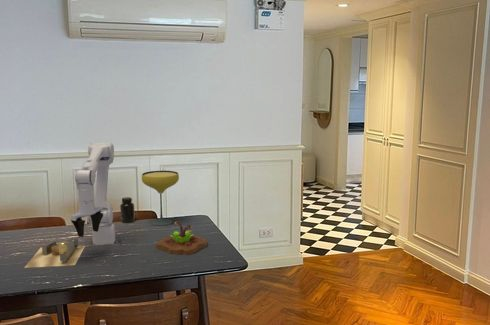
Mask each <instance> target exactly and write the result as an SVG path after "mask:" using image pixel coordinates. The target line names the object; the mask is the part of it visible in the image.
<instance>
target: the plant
mask: <svg viewBox="0 0 490 325" xmlns="http://www.w3.org/2000/svg"><path fill="white" fill-rule="evenodd" d="M174 225H175V226H178V225H179V228H180V229H179V231H176V230H174V231H173V232H172V235H171V234H170V235H169V236H166V237H164V238H161V240H159V241H158V242H157V243H155V248H156V249H157V250H159V251H162V252H166V253H169V254H171V255H177V256H178V255H185V256H188V255H193V254H196V253H197V252H198V251H200V250H202V249H204V248H207V246H208V240H207V238H202V237H201V236H198V235H194V234H191V233H192V230H191V229H192V228H193V226H192V225H191V224H187V225H186V226H185V227H184V228H183V225H182V223H181V221H175V222H174Z"/></svg>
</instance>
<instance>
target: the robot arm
mask: <svg viewBox="0 0 490 325" xmlns="http://www.w3.org/2000/svg"><path fill="white" fill-rule="evenodd" d="M87 153H88V156H89V157H88V158H87V159H85V160H84V162H83V164H82V166H81V168H80V169H78V170H77V171H76V172H75V175H74V181H75V182H74V183H75V185H76V190H77V191H78V192H77V193H78V194H77V195H78V208H79V209H78V211H77V212H75V213H74V214H73V213H72V214H71V215H70V223H71V224H73V227H74V228H75V230H76V232H77V236H78V237H79V238H83V237H84V235H85V223H86V221H87V223H88V224H89V225H90V227H91V238H92V244H93V245H94V246H103V245H104V246H105V245H114V244H115V242H116V228H115V224H114V223H112V222H113V219H114V212H113V206H112V205H111V204H110V203H109V202H107V196H108V195H107V194H108V185H109V184H108V182H109V168H110V165H111V164H113V163H114V158H115V149H114V144H113V143H112V142H108V143H106V142H105V143H104V142H103V143H99V142H97V143H96V142H90V143H89V144H88V147H87ZM95 182H96V183H95ZM94 184H95V187H94ZM94 188H95V190H94ZM83 218H86V220H84V219H83Z"/></svg>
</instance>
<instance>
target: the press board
mask: <svg viewBox="0 0 490 325" xmlns="http://www.w3.org/2000/svg"><path fill="white" fill-rule="evenodd" d="M85 248H86V245H78V247H76V248H75V249H74V250H73V252H72V253H71V255H70V256H69V257H68V259H67V260H66V261H60V255H57V256H54V255H52V253H51V254H49V255H47V256H46V255H43V254H42V247H40V248H39V249H38V250H37V252H36V253H35V254H34V256H32V258H31V259H30V260H29V261H28V262H27V264H26V265H25V266H24V269H31V268H47V267H67V266H75V265H77V262H78V260H79V259H80V256H81V255H82V253H83V251H84V249H85Z"/></svg>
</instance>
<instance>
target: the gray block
mask: <svg viewBox="0 0 490 325" xmlns="http://www.w3.org/2000/svg"><path fill="white" fill-rule="evenodd" d="M55 245H57V241H56V240H51V241H49V242H47V243H45V244H43V245H41V248H42V254H43V255H46V256H47V255H49V254H51V253H52V246H55Z"/></svg>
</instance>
